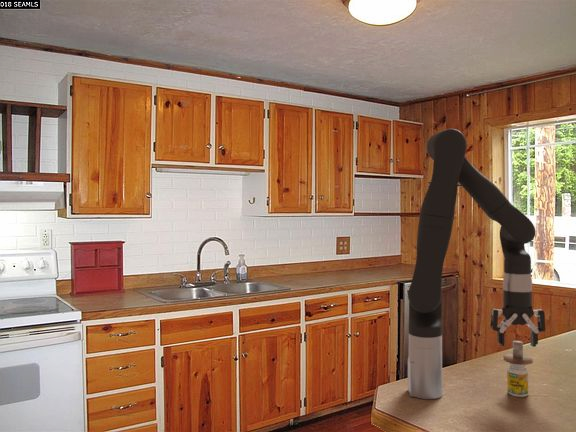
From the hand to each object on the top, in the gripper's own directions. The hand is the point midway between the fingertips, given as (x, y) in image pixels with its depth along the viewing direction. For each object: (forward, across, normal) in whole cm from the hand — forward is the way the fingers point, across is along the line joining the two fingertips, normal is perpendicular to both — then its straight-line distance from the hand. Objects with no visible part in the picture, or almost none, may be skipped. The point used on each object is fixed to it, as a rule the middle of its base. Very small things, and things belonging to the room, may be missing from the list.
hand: (517, 345), depth 144 cm
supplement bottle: (+14, 0, 0) cm, 14 cm away
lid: (+4, 0, 0) cm, 4 cm away
